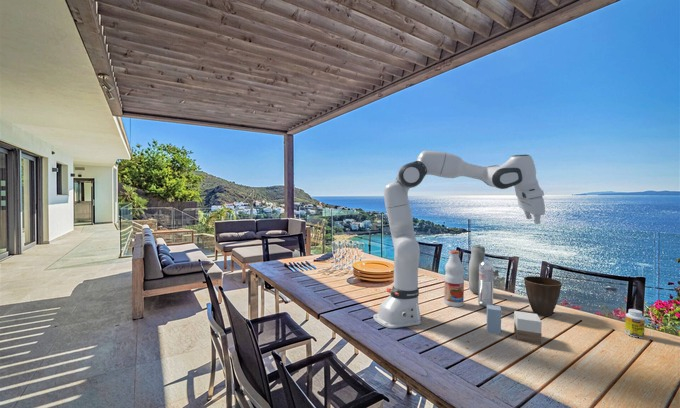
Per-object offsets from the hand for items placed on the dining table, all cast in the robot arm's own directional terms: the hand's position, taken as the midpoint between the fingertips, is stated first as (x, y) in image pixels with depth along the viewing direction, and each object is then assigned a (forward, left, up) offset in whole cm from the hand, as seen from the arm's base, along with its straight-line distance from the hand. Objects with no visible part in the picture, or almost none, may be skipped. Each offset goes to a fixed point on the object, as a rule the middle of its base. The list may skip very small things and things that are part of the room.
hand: (533, 221), depth 128 cm
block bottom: (-14, -7, -46) cm, 49 cm away
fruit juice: (-12, +32, -46) cm, 58 cm away
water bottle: (+1, +23, -46) cm, 52 cm away
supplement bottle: (+26, -26, -46) cm, 59 cm away
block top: (-14, -7, -42) cm, 44 cm away
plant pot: (+16, +4, -46) cm, 49 cm away
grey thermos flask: (+13, +37, -46) cm, 61 cm away
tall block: (-21, +3, -46) cm, 50 cm away
